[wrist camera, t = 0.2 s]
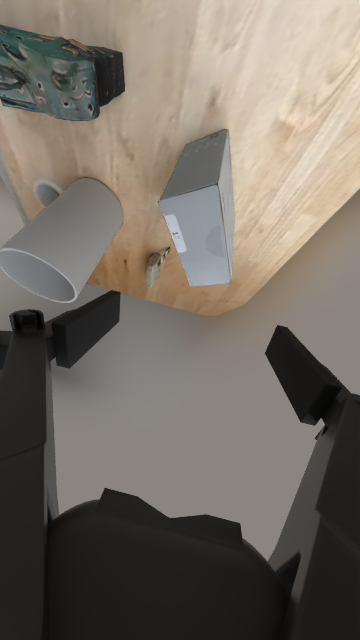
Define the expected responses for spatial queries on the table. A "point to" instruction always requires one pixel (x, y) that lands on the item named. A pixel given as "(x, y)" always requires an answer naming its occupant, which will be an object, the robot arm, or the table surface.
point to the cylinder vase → (64, 241)
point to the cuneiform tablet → (154, 268)
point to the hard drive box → (202, 210)
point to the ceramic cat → (57, 75)
